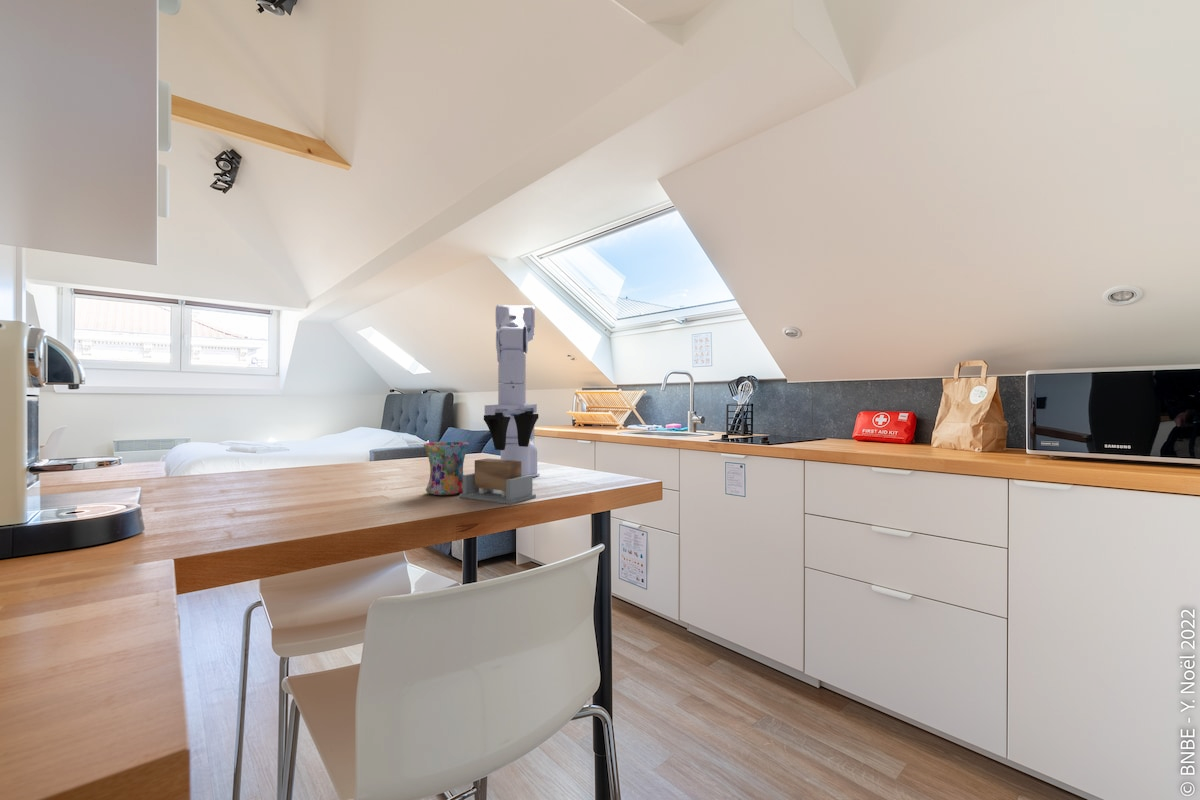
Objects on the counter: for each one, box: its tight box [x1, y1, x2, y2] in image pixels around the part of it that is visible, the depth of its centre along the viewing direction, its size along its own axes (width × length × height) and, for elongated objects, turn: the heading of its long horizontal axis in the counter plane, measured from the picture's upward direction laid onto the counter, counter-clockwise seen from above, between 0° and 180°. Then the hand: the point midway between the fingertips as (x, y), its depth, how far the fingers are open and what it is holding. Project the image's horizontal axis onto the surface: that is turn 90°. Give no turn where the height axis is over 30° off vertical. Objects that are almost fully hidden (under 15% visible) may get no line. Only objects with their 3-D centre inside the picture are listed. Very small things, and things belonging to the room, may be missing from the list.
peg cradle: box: [458, 472, 537, 505], centre depth 106 cm, size 8×14×4 cm, turn 60°
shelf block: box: [474, 457, 521, 491], centre depth 106 cm, size 4×9×6 cm, turn 60°
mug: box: [423, 441, 470, 496], centre depth 111 cm, size 12×9×11 cm
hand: (511, 448), depth 109 cm, fingers open, 7 cm apart
